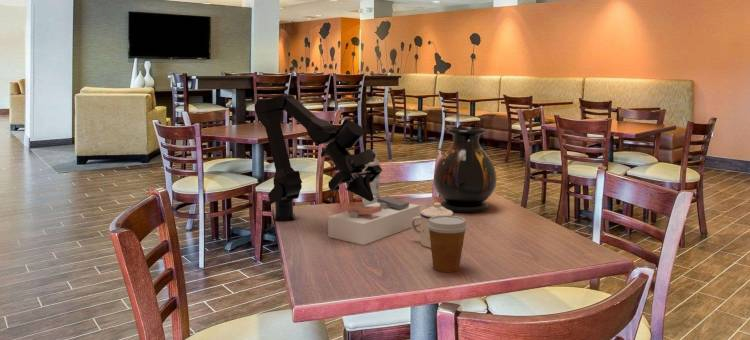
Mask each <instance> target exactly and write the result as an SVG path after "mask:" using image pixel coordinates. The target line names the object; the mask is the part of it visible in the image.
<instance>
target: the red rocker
mask: <svg viewBox="0 0 750 340" xmlns="http://www.w3.org/2000/svg"><path fill="white" fill-rule="evenodd" d="M347 211H348V213H351V211H354V212H358V214H373V213H376V212H380V211H382V208H381V207H375V206H364V205H357V206H353V207H351V208H347Z"/></svg>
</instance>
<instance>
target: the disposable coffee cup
mask: <svg viewBox="0 0 750 340" xmlns="http://www.w3.org/2000/svg"><path fill="white" fill-rule="evenodd" d="M427 226H428V228H429V233H430V242H431V248H430V250H431V258H432V260H431V261H432V267H433V269H434V270H435V271H438V272H442V273H453V272H457V271H459V270H460V265H461V261H462V260H461V258H462V253H463V252H462V251H463V246H464V239H465V234H466V230H467V228H468V224H467V222H466V219H465V218H464V217H461V216H457V215H454V216H449V215H441V216H434V217H431V218H430V219H429V223H428V224H427Z"/></svg>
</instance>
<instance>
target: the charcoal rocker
mask: <svg viewBox="0 0 750 340" xmlns="http://www.w3.org/2000/svg"><path fill="white" fill-rule="evenodd" d="M377 202H378V203H387V206H390V207H393V208H396V209H402V208H406V207H409V204H410V202H408V201H404V200H401V199H398V198H395V197H392V196H389V195H385V196H381V198H377Z"/></svg>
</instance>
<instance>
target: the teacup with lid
mask: <svg viewBox="0 0 750 340" xmlns="http://www.w3.org/2000/svg"><path fill="white" fill-rule="evenodd" d="M441 215H449V216H455V215H454V212H453V211H451V210H448V209H446V208H444V207H442V206H441V202H438V201H437V202H433V205H432V206H429V207H428V208H425V209H422V210H420V216H416V217H414V218H413V219H412V220H411V229H412V231H413V232H414V233H415V234H418V235H420V244H421V245H422V246H423V247H425V248H430V249H431V242H430V233H429V228H428V226H427V224H428V223H429V219H430V218H431V217H434V216H441ZM415 219H420V230H418V229H417V228H416V226H415V225H414V221H415Z"/></svg>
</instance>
